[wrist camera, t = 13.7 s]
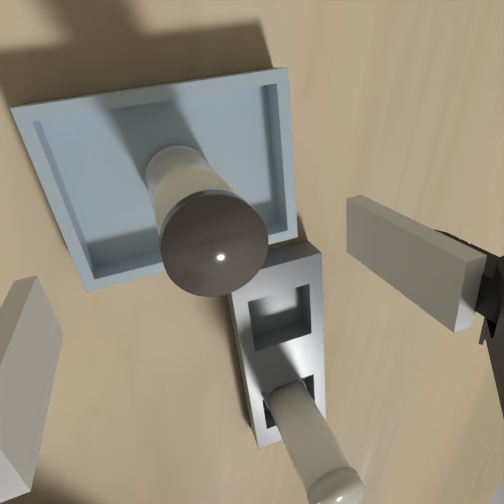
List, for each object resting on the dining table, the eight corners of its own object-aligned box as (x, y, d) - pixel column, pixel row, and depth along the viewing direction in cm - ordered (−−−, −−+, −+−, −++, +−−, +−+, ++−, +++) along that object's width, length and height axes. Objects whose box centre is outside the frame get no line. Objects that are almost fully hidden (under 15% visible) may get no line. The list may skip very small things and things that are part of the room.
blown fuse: (153, 214, 26) (174, 308, 16) (136, 150, 24) (149, 211, 14) (215, 201, 27) (272, 281, 17) (204, 138, 25) (263, 187, 15)
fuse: (264, 408, 39) (314, 527, 29) (259, 379, 37) (312, 497, 27) (302, 394, 40) (364, 505, 30) (300, 365, 38) (366, 473, 28)
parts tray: (88, 274, 27) (86, 292, 25) (20, 104, 21) (9, 108, 19) (285, 225, 31) (297, 237, 29) (273, 67, 25) (287, 67, 23)
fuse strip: (251, 429, 41) (258, 448, 39) (221, 263, 30) (228, 278, 28) (315, 405, 43) (325, 422, 41) (308, 240, 32) (321, 252, 30)
